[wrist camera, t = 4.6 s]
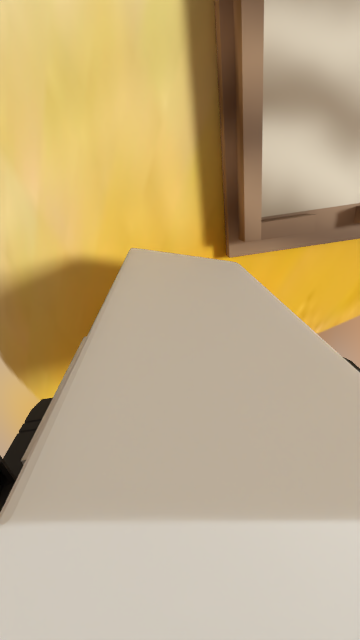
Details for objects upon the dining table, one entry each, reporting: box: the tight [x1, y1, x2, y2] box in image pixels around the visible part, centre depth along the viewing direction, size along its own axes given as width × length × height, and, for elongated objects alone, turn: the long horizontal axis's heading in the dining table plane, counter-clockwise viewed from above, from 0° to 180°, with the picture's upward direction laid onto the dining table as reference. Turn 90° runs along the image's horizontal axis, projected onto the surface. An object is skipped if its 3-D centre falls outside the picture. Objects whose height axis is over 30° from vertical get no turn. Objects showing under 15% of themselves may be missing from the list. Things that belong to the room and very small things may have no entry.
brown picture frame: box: [215, 0, 360, 258], centre depth 17 cm, size 17×16×2 cm
